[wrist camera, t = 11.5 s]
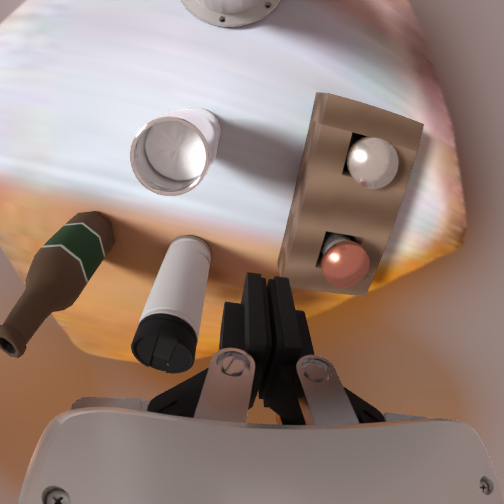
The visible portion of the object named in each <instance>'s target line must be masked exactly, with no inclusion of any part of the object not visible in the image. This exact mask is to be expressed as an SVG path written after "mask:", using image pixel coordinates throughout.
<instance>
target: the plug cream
mask: <svg viewBox="0 0 504 504" xmlns="http://www.w3.org/2000/svg"><path fill="white" fill-rule="evenodd" d="M345 163H346V164H347V167H348V170H349V173H350V175H351V176H352V178H353V179H354V180H355V181H356V182H357V183H359V184H360V185H361V186H363V187H365V188H368V189H379V188H382V187H384V186H386V185H388V184H389V183H390V182H391V181H392V180H393V178H394V177H395V175H396V173H397V170H398V164H399V163H398V155H397V153H396V150H395V149H394V147H393V146H392V145H391V144H390V143H389V142H387V141H385V140H383V139H381V138H379V137H375V136H368V137H364V138H363V137H361V136H359V135H356V134H352V136H351V140H350V144H349V148H348V152H347V156H346V160H345Z"/></svg>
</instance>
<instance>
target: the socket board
mask: <svg viewBox="0 0 504 504" xmlns="http://www.w3.org/2000/svg"><path fill="white" fill-rule="evenodd" d="M423 126H424V124H422V123H420V122H417V121H414V120H412V119H409V118H406V117H404V116H401V115H398V114H395V113H392V112H389V111H386V110H383V109H380V108H377V107H374V106H371V105H368V104H365V103H361V102H358V101H355V100H351V99H348V98H344V97H341V96H337V95H333V94H329V93H317V92H316V97H315V101H314V106H313V111H312V116H311V120H310V125H309V129H308V134H307V139H306V143H305V148H304V152H303V157H302V161H301V165H300V170H299V174H298V179H297V183H296V187H295V192H294V196H293V200H292V205H291V209H290V213H289V217H288V221H287V226H286V230H285V234H284V238H283V242H282V246H281V250H280V255H279V259H278V268H279V274H280V277H286V278H289V282H290V287H291V288H296V289H305V290H313V291H322V292H330V293H339V294H348V295H357V296H366V294H367V292H368V289H369V287H370V285H371V282H372V280H373V277H374V275H375V272H376V270H377V268H378V265H379V262H380V260H381V257H382V255H383V252H384V250H385V247H386V244H387V242H388V239H389V236H390V233H391V231H392V228H393V225H394V222H395V219H396V217H397V214H398V211H399V208H400V205H401V202H402V199H403V196H404V193H405V189H406V186H407V183H408V180H409V177H410V173H411V170H412V167H413V163H414V160H415V156H416V153H417V149H418V145H419V142H420V138H421V134H422V130H423ZM352 132H354V133H357V134H361V135H365V136H375V137H379V138H381V139H383V140H385V141H387V142H389V143H390V144H391V145H392V146H393V147H394V149H395V150H396V153H397V155H398V163H399V164H398V170H397V173H396V175H395V177H394V178H393V180H392V181H391V182H390V183H389V184H388V185H386V186H384V187H382V188H379V189H368V188H365V187H363V186H361V185H360V184H359V183H357V182H356V181H355V180H354V179H353V178H352V176H351V175H350V173H349V170H348V167H346V166H344V164H345V160H346V156H347V152H348V148H349V144H350V140H351V136H352ZM326 231H328V232H334V233H339V234H345V235H348V237H349V238H350V240H351V241H353V242H356V243H358V244H360V245H361V246H362V247H363V248H364V250H365V252H366V253H367V255H368V257H369V261H370V265H369V270H368V272H367V274H366V275H365V277H364V278H363V279H362V280H361V281H360V282H358V283H357V284H355V285H353V286H350V287H345V288H339V287H335V286H333V285H331V284H329V283H328V282H327V280H326V279H325V277H324V274H323V272H322V268H321V261H322V258H323V254H322V252H321V246H322V243H323V239H324V236H325V233H326Z"/></svg>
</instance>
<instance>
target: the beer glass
mask: <svg viewBox="0 0 504 504" xmlns="http://www.w3.org/2000/svg"><path fill="white" fill-rule="evenodd" d="M220 134H221V129H220V125H219V122H218V120H217V119H216V117H215V116H214V115H213V114H212V113H211V112H209V111H207V110H205V109H201V108H191V109H188V110H175V111H170V112H167V113H164V114H162V115H160V116H158V117H157V118H155V119H153V120H152V121H150V122H149V123H147V124H146V125H145V126H143V127H142V128H141V129H140V130H139V132H138V133H137V134H136V136H135V138H134V140H133V143H132V146H131V151H130V161H131V166H132V169H133V172H134V174H135V176H136V177H137V179H138V180H139V182H140V183H141V184H142V185H143V186H144V187H146V188H147V189H149V190H150V191H152V192H154V193H157V194H160V195H165V196H176V195H181V194H184V193H186V192H188V191H190V190H192V189H193V188H195V187H196V186H197V185H198V184H199V183H200V182H201V181H202V179H203V178H204V176H205V175H206V174H207V173H208V171H209V170H210V168H211V166H212V164H213V162H214V160H215V157H216V153H217V148H218V141H219V139H220Z"/></svg>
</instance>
